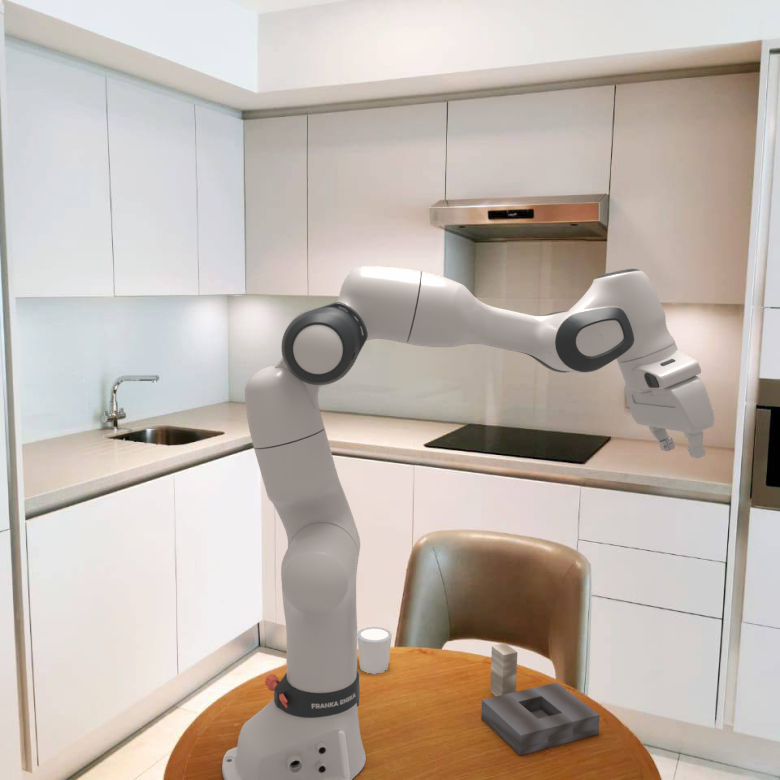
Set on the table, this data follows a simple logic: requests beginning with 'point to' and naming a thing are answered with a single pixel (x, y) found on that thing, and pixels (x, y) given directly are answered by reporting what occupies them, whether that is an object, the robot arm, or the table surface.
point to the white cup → (374, 649)
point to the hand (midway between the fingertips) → (683, 453)
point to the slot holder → (539, 718)
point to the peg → (503, 670)
